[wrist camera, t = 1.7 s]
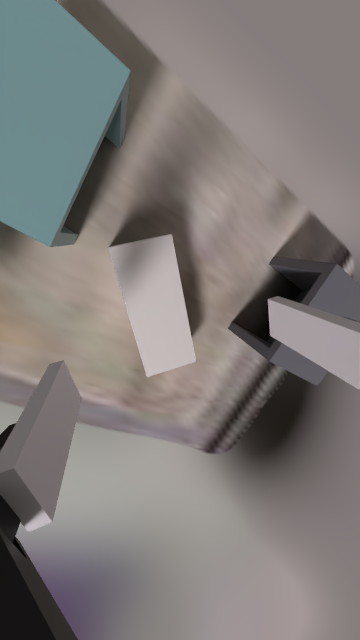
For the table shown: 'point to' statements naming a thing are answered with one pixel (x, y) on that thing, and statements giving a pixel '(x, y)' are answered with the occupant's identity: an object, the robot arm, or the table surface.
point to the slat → (154, 302)
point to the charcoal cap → (318, 292)
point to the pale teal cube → (52, 114)
